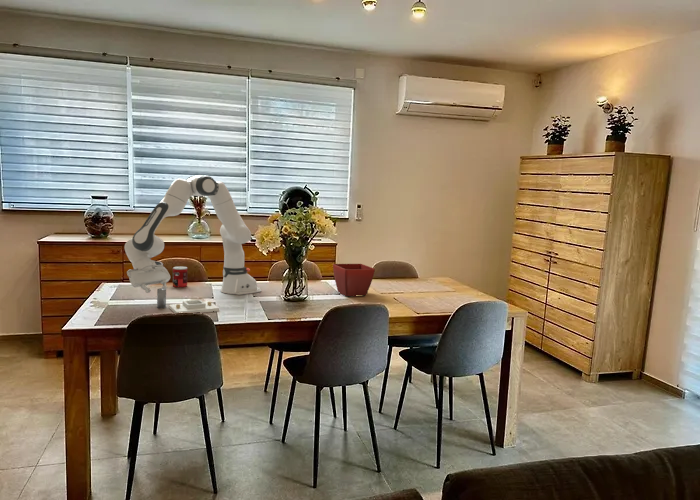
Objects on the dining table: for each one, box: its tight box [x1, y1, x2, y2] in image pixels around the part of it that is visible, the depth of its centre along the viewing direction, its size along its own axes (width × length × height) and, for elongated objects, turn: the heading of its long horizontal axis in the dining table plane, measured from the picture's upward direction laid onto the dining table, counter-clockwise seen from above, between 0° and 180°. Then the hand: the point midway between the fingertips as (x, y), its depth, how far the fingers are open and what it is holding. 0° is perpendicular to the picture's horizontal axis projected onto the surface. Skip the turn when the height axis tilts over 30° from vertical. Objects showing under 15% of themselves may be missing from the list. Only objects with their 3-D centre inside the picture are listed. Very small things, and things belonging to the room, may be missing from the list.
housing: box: [168, 299, 220, 314], centre depth 237 cm, size 20×14×4 cm
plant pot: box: [332, 263, 376, 297], centre depth 289 cm, size 19×19×17 cm
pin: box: [156, 287, 167, 309], centre depth 237 cm, size 4×4×9 cm
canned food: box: [172, 265, 189, 289], centre depth 283 cm, size 8×8×11 cm
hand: (157, 290), depth 238 cm, fingers open, 8 cm apart
